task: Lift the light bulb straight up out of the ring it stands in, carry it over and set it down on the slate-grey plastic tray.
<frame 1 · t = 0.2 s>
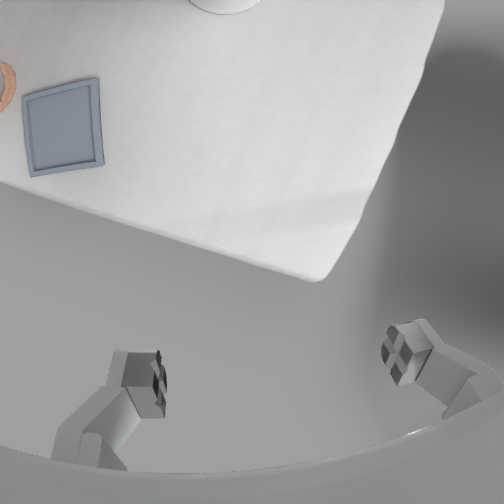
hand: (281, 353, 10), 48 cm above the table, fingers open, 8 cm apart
tray: (62, 128, 46), on the table
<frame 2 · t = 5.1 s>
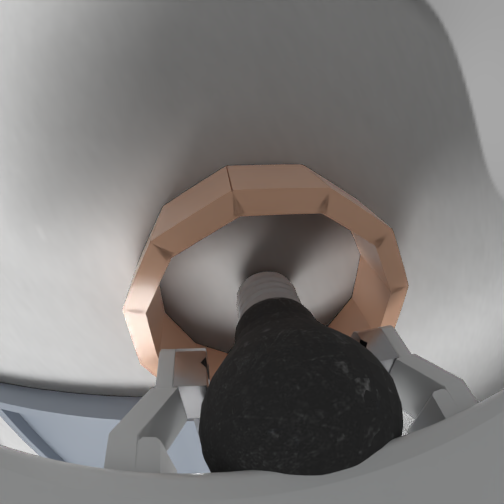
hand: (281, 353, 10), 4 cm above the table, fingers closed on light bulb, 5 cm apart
light bulb: (261, 282, 14), resting in ring, touching gripper
tray: (113, 447, 20), on the table
ring: (262, 284, 14), on the table
when the fingers open (6 cm above the table, at t = 10.1 s): light bulb stays where it is, resting on tray.
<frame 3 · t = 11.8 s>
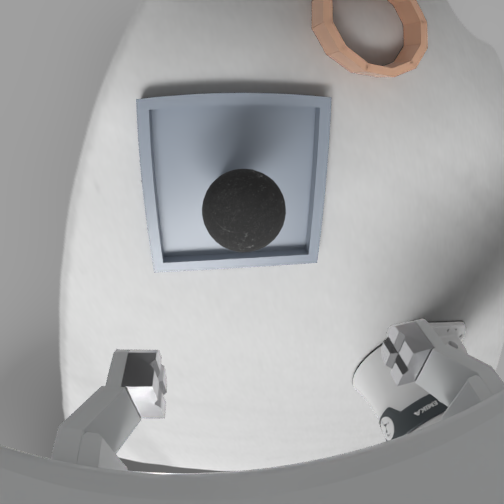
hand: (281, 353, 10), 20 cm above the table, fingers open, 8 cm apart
light bulb: (231, 181, 27), resting on tray
tray: (234, 181, 28), on the table
ring: (364, 24, 22), on the table
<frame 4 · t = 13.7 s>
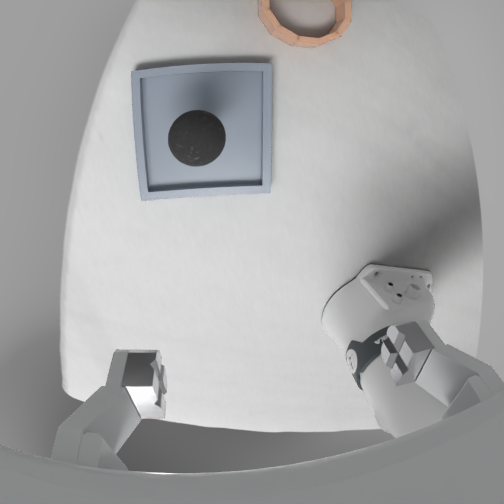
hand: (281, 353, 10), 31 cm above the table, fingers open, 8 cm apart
light bulb: (199, 128, 35), resting on tray
tray: (202, 129, 35), on the table
ring: (301, 9, 29), on the table
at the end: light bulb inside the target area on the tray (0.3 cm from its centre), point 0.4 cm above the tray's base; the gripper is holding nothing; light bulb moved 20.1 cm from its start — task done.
